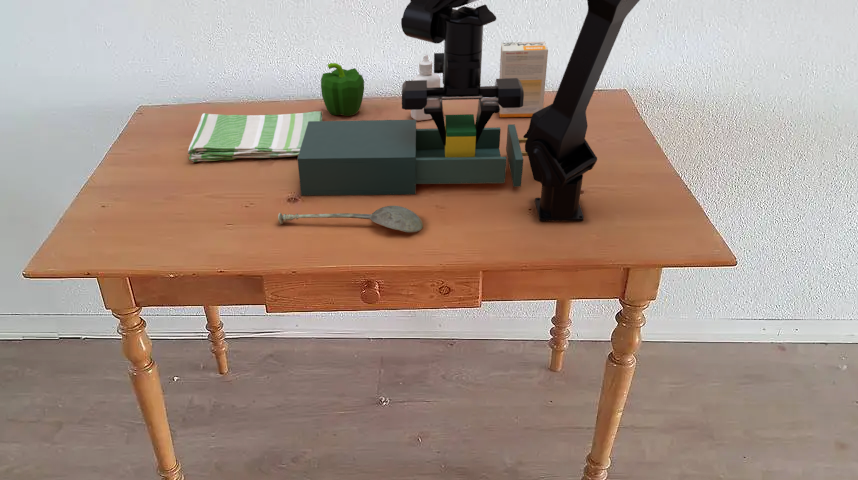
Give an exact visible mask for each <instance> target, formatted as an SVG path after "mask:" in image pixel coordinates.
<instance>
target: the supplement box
mask: <svg viewBox="0 0 858 480" xmlns="http://www.w3.org/2000/svg"><path fill="white" fill-rule="evenodd" d="M548 55H549V49H548V46H547V42H546V41H515V42H514V41H513V42H501V43H500V57H499V58H500V59H499V78H498V79H506V78H518V79H519V80H520V82H521V84H522V87H523V91H524V100H523V106H522V107H520V108H502V107H501V106H500V105H499V107H500V112H499V113H498V115H499V118H531V117H532V115H533V113H535V112H537V111H539V110H541V109H543V108H544V104H545V93H546V92H545V91H546V79H547V70H548V69H547V67H548Z"/></svg>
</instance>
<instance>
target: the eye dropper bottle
mask: <svg viewBox="0 0 858 480" xmlns="http://www.w3.org/2000/svg"><path fill="white" fill-rule="evenodd" d="M414 80H427V88H433V87H441V78H440V76H439V75H438V74H437V73H434V72H433V62H432V61H431V60H430V59H429V55H428V54H423V58H422V60H421V61H420V62H419V63H418V74H417V75H415V76H414V77H413V78H412V79H411V81H414ZM410 117H411V119H412V120H416V122H420V121H428V120H431V119H432V117H431V115H430V114H424V108H423V109H422V110H410ZM432 120H433V119H432Z"/></svg>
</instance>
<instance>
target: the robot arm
mask: <svg viewBox="0 0 858 480" xmlns="http://www.w3.org/2000/svg"><path fill="white" fill-rule="evenodd" d="M477 1H478V0H410V2H409V3H408V4H407V6H406V7H405V9H404V11H403V14H402V17H401V19H400V24H401V25H400V26H401V30H402V32H403V34H404V35H405V36H407V37H409V38H412V39H416V40H421V41H424V42H429V43H431V44H441V43H442V42H443V44H444V45H443V52H434V53H433V73H434V74H442V84H443V86H440V87H433V88H427V80H414V81H412V80H405V81H404V82H403V83H402V85H401V109H402V110H406V111H409V110H410V111H411V110H422V109H423V108H424V114H430V115H431V117H432V120H433V122H434V124H435V126H436V128H438V131H439V134H440V137H441V139H442V142H443V145H446V130H445V115H444V107H443V101H456V100H457V101H458V100H459V101H461V100H478V103H477V111H476V117H475V128H476V144H477V142H478V140H479V138H480V136H481V134H482V131H483V129H484V128H486V125H488V122H489V121H490V119H491V118H492V116H493V115H495V114H499V112H500V107H499V105H500V106H501V107H502V108H520V107H522V106H523V100H524V91H523V87H522V84H521V82H520V80H519V79H518V78H506V79H499V78H496V79H495V83H494V85H484V86H481V81H482V80H481V79H482V59H483V41H484V40H483V37H484V26H486V25H489V24H491V23H493V22H496V21H497V16H496V15H495V13H494V12H493V11H491V9H489V7H488V5H487V4H482V5H479V6H477V7H470V6H466V5H469V4H472V3H474V2H477ZM586 1H587V12H586V16H585V18H584V21H583V24H582V26H581V29H580V31H579V34H578V37H577V38H576V41H575V44H574V47H573V49H572V52H571V55H570V57H569V60H568V61H567V64H566V67H565V70H564V73H563V76H562V78H561V81H560V83H559V86H558V88H557V90H556V94H555V96H554V98H553V101H552V103H550V104H548V105H547V106H545V107H543V109H541V110H539V111H537V112H535V113H533V115H532V117H530V119H529V126H528V129H527V131H526V133H524V135H523V136H522V138H527V140H526V143H524V151H526V152H527V154H528V156H527V157H528V162H529V166H530V170H531V175H532V179H533V181H536V182H538V183H540V184H541V190H540V197H535V198H534V205H535V209H536V212H537V217H538V221H540V222H583V221H584V220H585V215H584V214H583V211H582V210H583V209H582V208H581V204H580V202H581V201H580V200H581V192H582V185H583V178H584V174H585V173H587V172H588V171H592V170H593V169H594V167H595V165H596V163H597V161H598V157H597V156H596V154H595V153H594V150H593V149H592V148H591V146H590V144H589V143H588V141H587V140H586V135H587V131H588V120H587V109H588V107H589V104H590V101H591V99H592V97H593V94H594V92H595V89H596V87H597V85H598V83H599V80H600V78H601V75H602V74H603V71H604V68H605V66H606V64H607V63H608V62H607V61H608V59H609V56H610V54H611V52H612V50H613V47H614V45H615V43H616V40H617V38H618V36H619V33H620V30H621V29H622V26H623V24H624V21H625V20H626V18H627V16H628V15H629V14H630V13H631V11H632V10H633V9H634V8H635V6H637V4H638V3H639V2H640V1H641V0H586ZM456 8H458V9H456Z"/></svg>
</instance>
